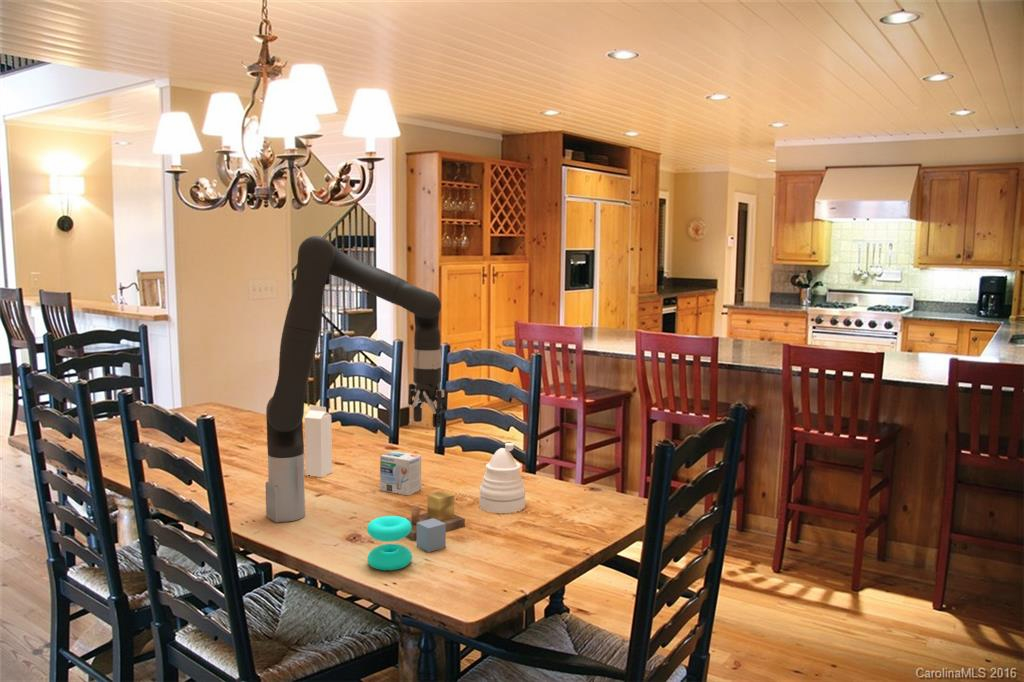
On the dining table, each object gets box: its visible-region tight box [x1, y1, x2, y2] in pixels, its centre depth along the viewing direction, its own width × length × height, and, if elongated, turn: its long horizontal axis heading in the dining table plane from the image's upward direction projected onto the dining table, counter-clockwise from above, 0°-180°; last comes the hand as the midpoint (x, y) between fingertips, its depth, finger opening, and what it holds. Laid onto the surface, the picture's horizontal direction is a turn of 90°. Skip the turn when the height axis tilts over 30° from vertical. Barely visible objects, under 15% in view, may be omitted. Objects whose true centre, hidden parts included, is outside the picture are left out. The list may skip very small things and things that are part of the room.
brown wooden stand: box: [405, 490, 466, 542], centre depth 201 cm, size 16×10×8 cm, turn 131°
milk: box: [304, 405, 333, 478], centre depth 246 cm, size 6×6×22 cm
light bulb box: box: [379, 450, 422, 496], centre depth 232 cm, size 11×7×11 cm, turn 62°
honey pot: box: [478, 442, 526, 514], centre depth 218 cm, size 13×13×18 cm
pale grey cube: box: [416, 518, 447, 553], centre depth 188 cm, size 5×5×6 cm
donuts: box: [366, 515, 413, 571], centre depth 178 cm, size 10×10×10 cm
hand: (427, 424), depth 213 cm, fingers open, 8 cm apart
